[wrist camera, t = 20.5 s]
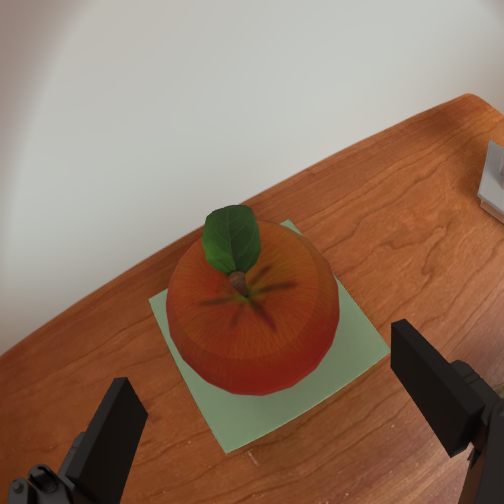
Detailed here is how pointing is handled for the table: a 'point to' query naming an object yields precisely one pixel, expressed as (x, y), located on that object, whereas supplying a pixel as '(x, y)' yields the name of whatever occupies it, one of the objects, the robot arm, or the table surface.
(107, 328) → the table surface
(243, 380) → the fruit
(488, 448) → the robot arm
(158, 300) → the green block
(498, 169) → the desk lamp
